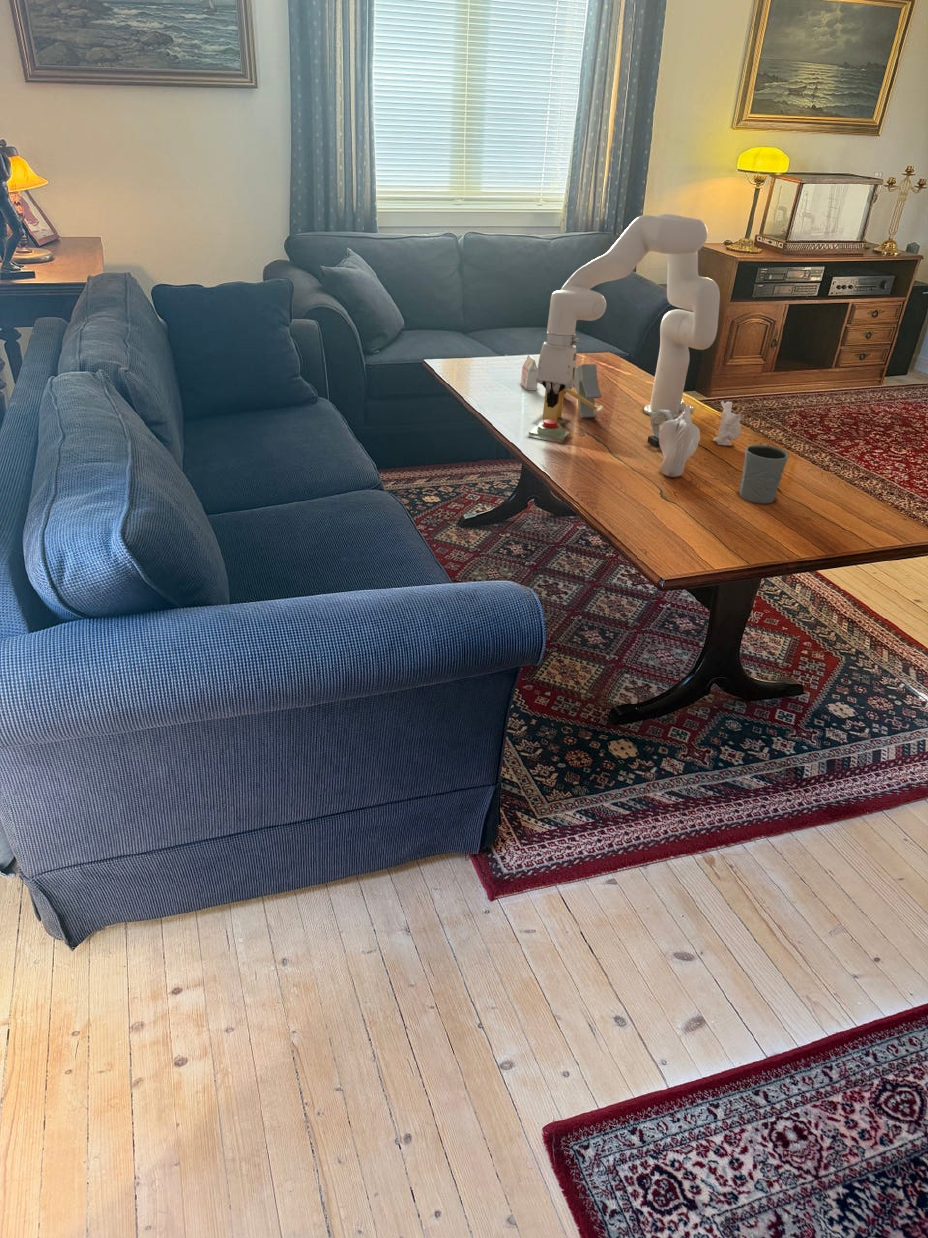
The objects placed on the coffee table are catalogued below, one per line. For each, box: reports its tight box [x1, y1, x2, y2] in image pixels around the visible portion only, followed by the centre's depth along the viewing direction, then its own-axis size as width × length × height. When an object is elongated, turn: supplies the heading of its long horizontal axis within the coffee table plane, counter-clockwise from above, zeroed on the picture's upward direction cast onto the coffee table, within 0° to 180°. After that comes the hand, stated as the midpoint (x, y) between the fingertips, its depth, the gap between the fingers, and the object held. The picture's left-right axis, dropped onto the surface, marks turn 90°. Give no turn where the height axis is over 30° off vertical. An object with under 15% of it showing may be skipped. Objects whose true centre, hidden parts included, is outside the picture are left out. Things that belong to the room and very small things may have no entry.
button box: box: [528, 422, 571, 445], centre depth 240 cm, size 10×7×4 cm
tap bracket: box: [542, 382, 565, 422], centre depth 250 cm, size 8×9×14 cm
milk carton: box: [520, 354, 538, 391], centre depth 282 cm, size 4×7×10 cm, turn 13°
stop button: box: [542, 419, 559, 429], centre depth 239 cm, size 4×4×2 cm
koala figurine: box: [712, 400, 742, 446], centre depth 242 cm, size 8×7×12 cm
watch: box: [646, 409, 675, 448], centre depth 236 cm, size 6×8×11 cm
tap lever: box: [563, 388, 604, 415], centre depth 246 cm, size 17×6×2 cm, turn 65°
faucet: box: [564, 363, 602, 420], centre depth 263 cm, size 6×17×30 cm
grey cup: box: [739, 444, 789, 505], centre depth 209 cm, size 10×10×12 cm
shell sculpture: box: [659, 404, 701, 478], centre depth 216 cm, size 8×8×18 cm
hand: (551, 405), depth 236 cm, fingers closed
